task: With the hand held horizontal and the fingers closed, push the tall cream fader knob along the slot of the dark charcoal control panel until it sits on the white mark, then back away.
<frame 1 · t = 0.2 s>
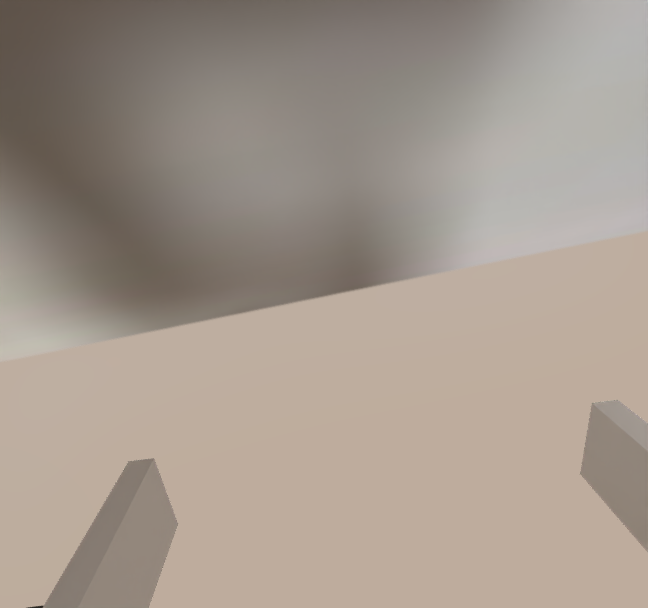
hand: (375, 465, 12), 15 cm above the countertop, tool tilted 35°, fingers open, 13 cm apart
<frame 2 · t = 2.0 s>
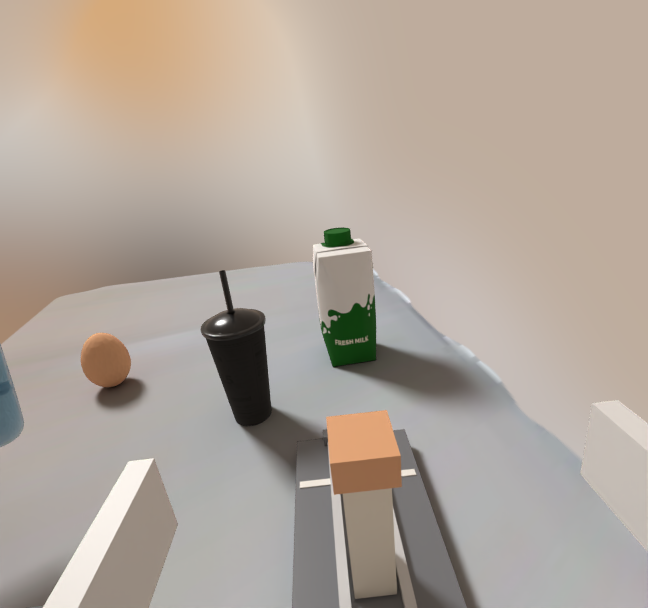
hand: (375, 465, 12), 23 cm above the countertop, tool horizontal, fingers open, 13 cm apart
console: (366, 542, 33), on the countertop
drinking cup: (253, 414, 51), on the countertop
milk carton: (350, 354, 63), on the countertop
fader: (367, 511, 26), point 9 cm above the countertop, slide at 0.0 cm
egg: (115, 385, 61), on the countertop
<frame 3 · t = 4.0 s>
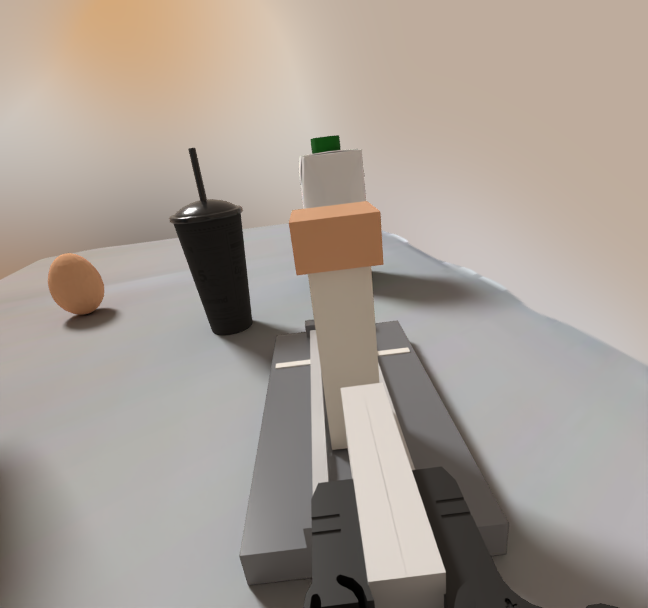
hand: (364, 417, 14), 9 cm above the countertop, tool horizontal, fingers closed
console: (351, 416, 28), on the countertop
drinking cup: (232, 327, 46), on the countertop
milk carton: (341, 279, 58), on the countertop
fader: (344, 332, 21), point 9 cm above the countertop, slide at 0.0 cm
egg: (87, 314, 57), on the countertop
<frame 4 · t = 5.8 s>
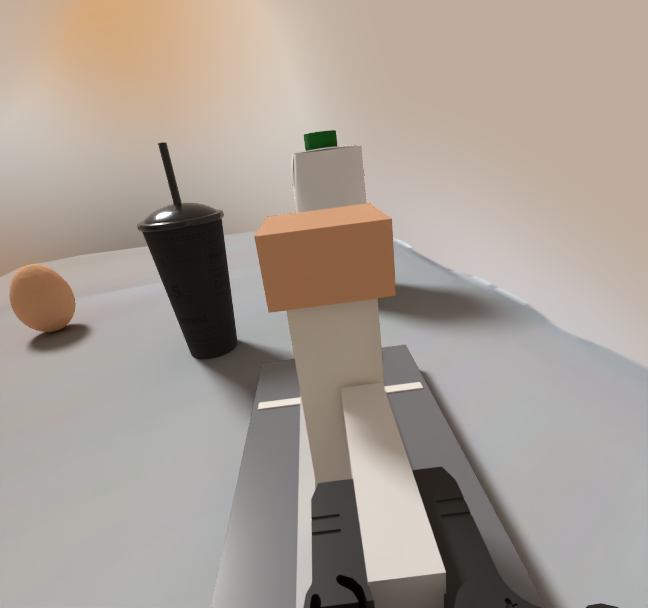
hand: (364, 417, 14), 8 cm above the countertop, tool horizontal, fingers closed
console: (351, 476, 22), on the countertop
drinking cup: (214, 348, 40), on the countertop
milk carton: (339, 291, 52), on the countertop
fader: (340, 383, 15), point 9 cm above the countertop, slide at 0.3 cm, touching gripper
egg: (56, 331, 51), on the countertop
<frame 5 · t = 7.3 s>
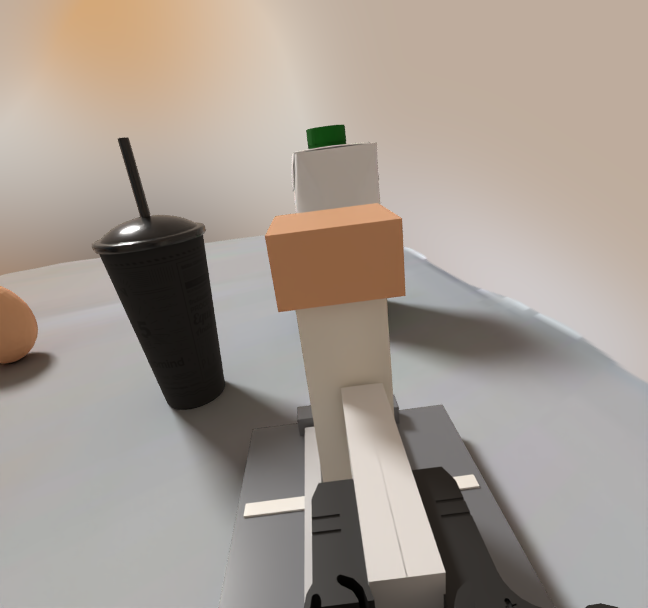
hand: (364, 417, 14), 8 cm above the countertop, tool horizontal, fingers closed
drinking cup: (196, 393, 32), on the countertop
milk carton: (348, 313, 45), on the countertop
fader: (348, 382, 15), point 9 cm above the countertop, slide at 8.5 cm, touching gripper
egg: (15, 361, 43), on the countertop
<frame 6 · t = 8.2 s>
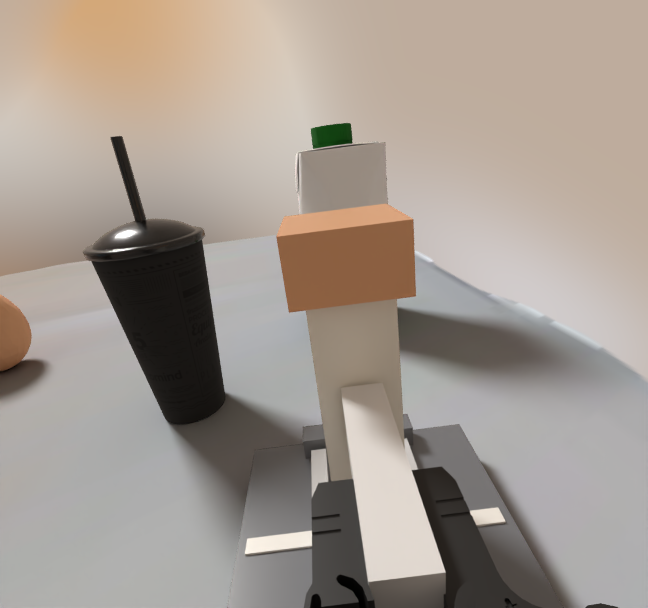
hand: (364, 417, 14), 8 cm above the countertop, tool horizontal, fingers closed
drinking cup: (195, 406, 31), on the countertop
milk carton: (353, 320, 43), on the countertop
fader: (356, 382, 15), point 9 cm above the countertop, slide at 10.3 cm, touching gripper
egg: (8, 369, 42), on the countertop
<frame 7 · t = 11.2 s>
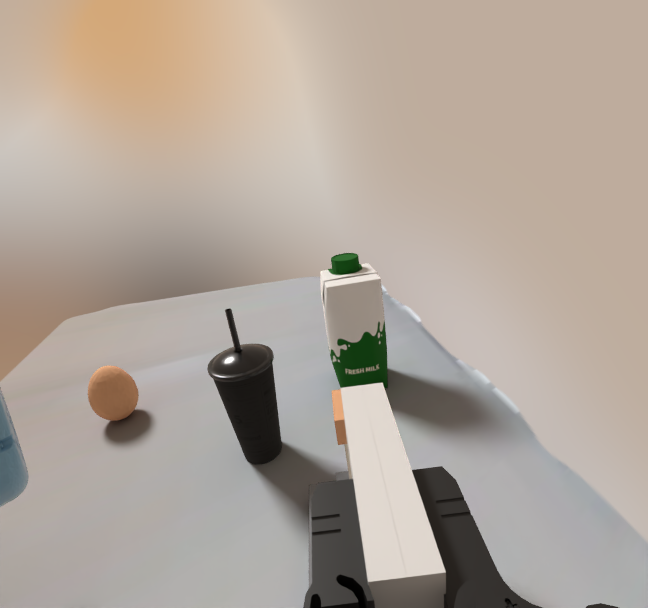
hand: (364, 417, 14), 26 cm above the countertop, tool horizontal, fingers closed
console: (384, 602, 31), on the countertop
drinking cup: (263, 451, 49), on the countertop
milk carton: (361, 380, 61), on the countertop
fader: (364, 462, 34), point 9 cm above the countertop, slide at 10.3 cm
egg: (123, 417, 61), on the countertop
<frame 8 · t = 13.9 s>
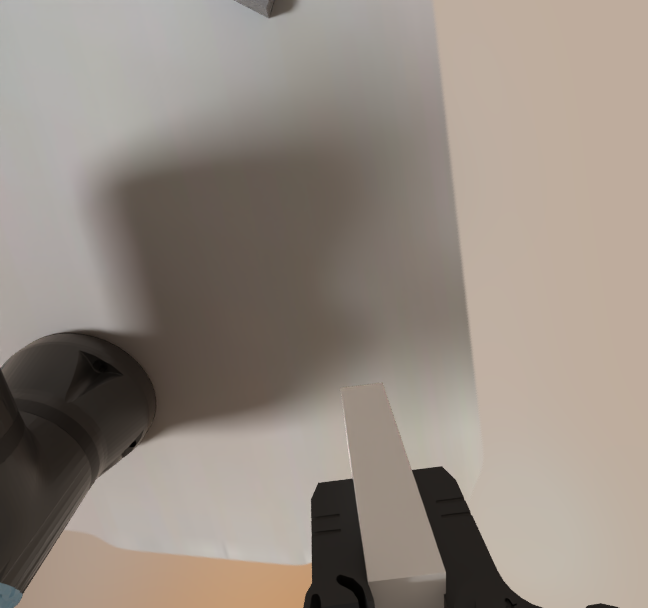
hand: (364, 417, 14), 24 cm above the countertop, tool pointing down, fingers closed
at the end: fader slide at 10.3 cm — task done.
